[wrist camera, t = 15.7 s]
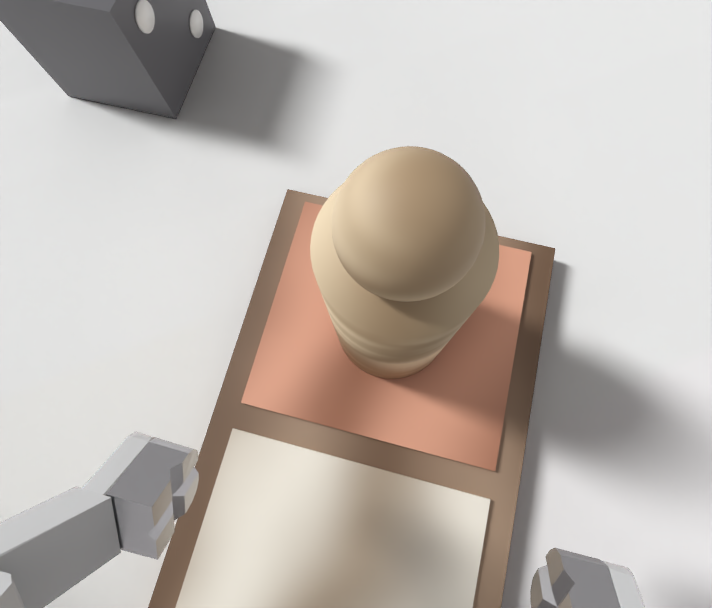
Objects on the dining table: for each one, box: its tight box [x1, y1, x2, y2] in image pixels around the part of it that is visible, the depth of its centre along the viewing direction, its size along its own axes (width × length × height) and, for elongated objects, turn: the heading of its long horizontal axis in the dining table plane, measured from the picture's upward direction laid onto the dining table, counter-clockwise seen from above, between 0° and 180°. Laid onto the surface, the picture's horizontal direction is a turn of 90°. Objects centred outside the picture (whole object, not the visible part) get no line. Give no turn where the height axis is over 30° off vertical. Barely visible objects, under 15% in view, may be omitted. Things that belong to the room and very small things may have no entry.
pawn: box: [310, 146, 499, 379], centre depth 13 cm, size 4×4×11 cm
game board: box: [148, 189, 555, 608], centre depth 16 cm, size 12×30×1 cm, turn 165°
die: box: [0, 0, 215, 119], centre depth 21 cm, size 6×6×6 cm
